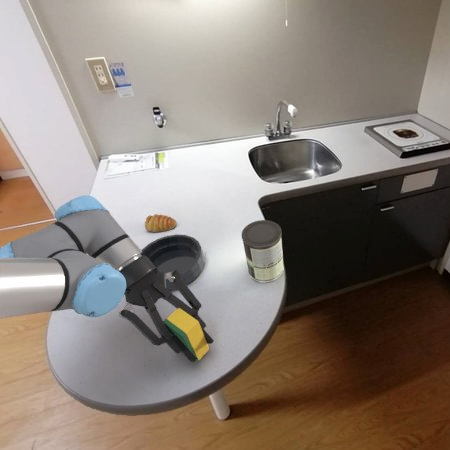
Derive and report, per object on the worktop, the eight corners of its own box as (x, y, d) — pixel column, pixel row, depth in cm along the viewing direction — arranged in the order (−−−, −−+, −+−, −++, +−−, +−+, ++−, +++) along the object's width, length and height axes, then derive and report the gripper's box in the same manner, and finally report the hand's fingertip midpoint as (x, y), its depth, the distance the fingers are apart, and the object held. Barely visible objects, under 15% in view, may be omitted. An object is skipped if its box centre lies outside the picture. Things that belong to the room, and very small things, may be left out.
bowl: (176, 300, 80) (171, 288, 76) (127, 280, 85) (120, 268, 82) (216, 256, 92) (213, 244, 89) (171, 240, 97) (166, 228, 94)
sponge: (195, 363, 66) (182, 336, 58) (177, 349, 68) (162, 321, 61) (209, 349, 68) (198, 321, 61) (191, 335, 71) (178, 307, 64)
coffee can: (240, 274, 86) (233, 237, 77) (262, 251, 93) (257, 215, 84) (270, 288, 82) (266, 251, 73) (290, 264, 89) (289, 227, 80)
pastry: (179, 219, 105) (176, 211, 103) (173, 233, 100) (170, 224, 98) (152, 220, 105) (148, 211, 103) (144, 233, 100) (140, 224, 98)
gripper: (159, 245, 69) (224, 322, 73) (83, 297, 58) (164, 384, 62) (167, 236, 64) (237, 320, 67) (85, 291, 53) (174, 388, 56)
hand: (202, 350), depth 64 cm, fingers closed on sponge, 4 cm apart
